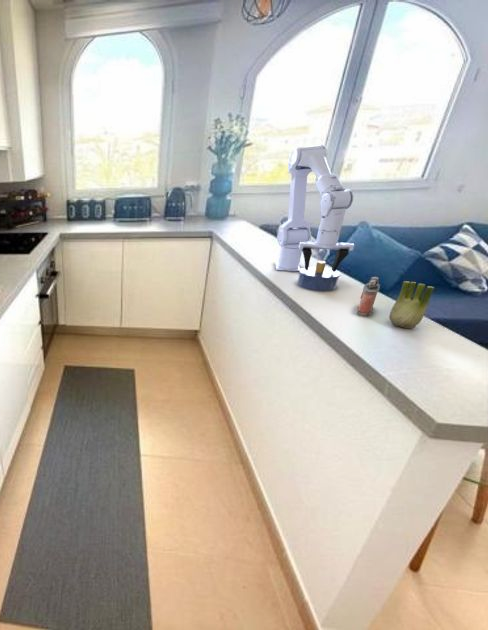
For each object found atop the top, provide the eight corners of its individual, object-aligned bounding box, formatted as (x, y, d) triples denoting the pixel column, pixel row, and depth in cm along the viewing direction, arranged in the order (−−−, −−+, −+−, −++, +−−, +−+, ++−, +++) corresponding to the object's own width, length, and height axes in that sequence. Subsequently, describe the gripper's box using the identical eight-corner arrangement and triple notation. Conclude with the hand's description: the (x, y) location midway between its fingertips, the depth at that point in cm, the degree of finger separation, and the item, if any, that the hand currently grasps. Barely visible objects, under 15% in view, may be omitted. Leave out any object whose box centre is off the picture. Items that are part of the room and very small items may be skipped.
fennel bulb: (421, 330, 87) (439, 286, 82) (401, 331, 87) (417, 287, 82) (401, 320, 92) (417, 278, 87) (382, 321, 92) (397, 279, 87)
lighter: (359, 305, 102) (369, 273, 98) (374, 308, 100) (384, 275, 96) (354, 314, 97) (364, 281, 93) (369, 317, 95) (380, 283, 91)
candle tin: (295, 279, 125) (298, 267, 123) (332, 281, 121) (335, 269, 119) (299, 289, 116) (302, 277, 115) (338, 292, 112) (341, 279, 110)
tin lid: (296, 268, 124) (299, 256, 122) (335, 271, 119) (339, 258, 117) (300, 279, 115) (303, 266, 113) (343, 281, 110) (346, 268, 108)
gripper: (304, 232, 110) (295, 272, 116) (360, 232, 104) (348, 275, 110) (301, 227, 116) (293, 266, 122) (355, 228, 110) (344, 268, 116)
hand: (319, 270), depth 116 cm, fingers open, 7 cm apart
